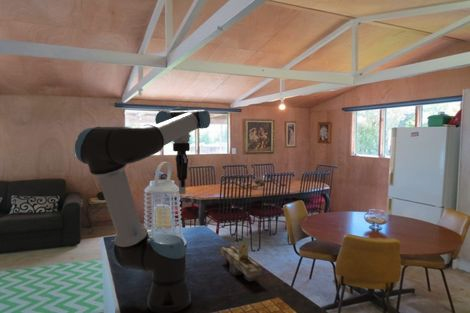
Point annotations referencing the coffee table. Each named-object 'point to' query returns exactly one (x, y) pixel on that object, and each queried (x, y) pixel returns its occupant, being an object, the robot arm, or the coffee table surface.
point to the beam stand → (240, 264)
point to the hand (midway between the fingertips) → (182, 193)
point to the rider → (243, 252)
